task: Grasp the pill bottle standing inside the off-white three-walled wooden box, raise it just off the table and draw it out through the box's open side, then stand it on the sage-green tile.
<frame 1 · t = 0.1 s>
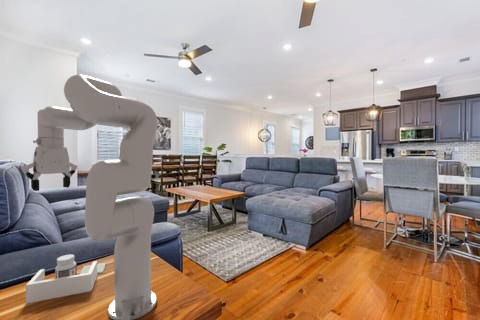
hand: (51, 188, 86), 31 cm above the table, tool pointing down, fingers open, 9 cm apart
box: (65, 288, 75), on the table
tile: (93, 270, 87), on the table
pill bottle: (66, 287, 76), on the table
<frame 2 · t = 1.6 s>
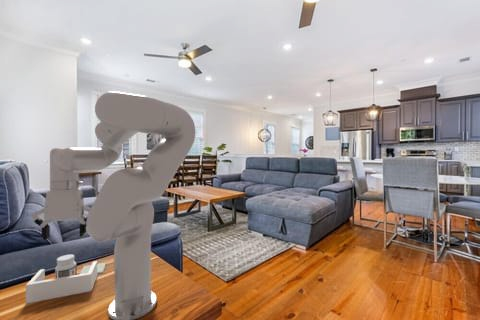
hand: (64, 236, 76), 17 cm above the table, tool pointing down, fingers open, 9 cm apart
nothing on the table moved.
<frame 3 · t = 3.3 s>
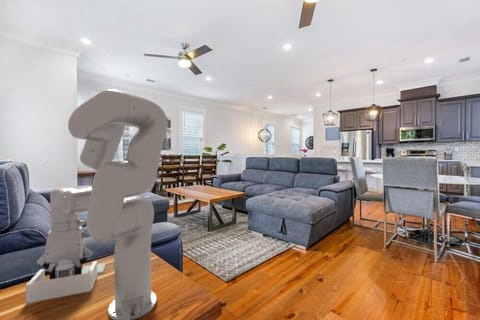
hand: (66, 279, 76), 3 cm above the table, tool pointing down, fingers closed on pill bottle, 5 cm apart
pill bottle: (66, 287, 76), on the table, touching gripper
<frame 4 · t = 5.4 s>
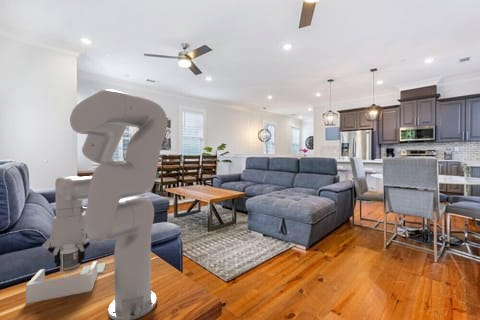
hand: (70, 262, 80), 6 cm above the table, tool pointing down, fingers closed on pill bottle, 5 cm apart
pill bottle: (70, 270, 80), point 3 cm above the table, touching gripper
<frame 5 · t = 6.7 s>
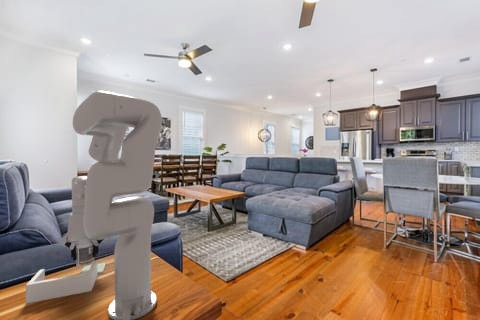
hand: (85, 256, 86), 6 cm above the table, tool pointing down, fingers closed on pill bottle, 5 cm apart
pill bottle: (85, 264, 86), point 3 cm above the table, touching gripper
when the fingers open (5 cm above the table, at t = 7.7 s): pill bottle drops 1 cm, resting on tile.
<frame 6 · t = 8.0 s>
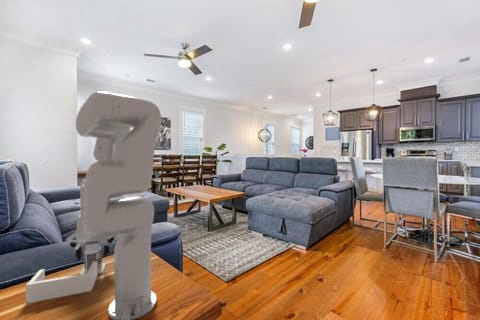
hand: (93, 256, 87), 5 cm above the table, tool pointing down, fingers open, 8 cm apart
pill bottle: (93, 269, 87), resting on tile
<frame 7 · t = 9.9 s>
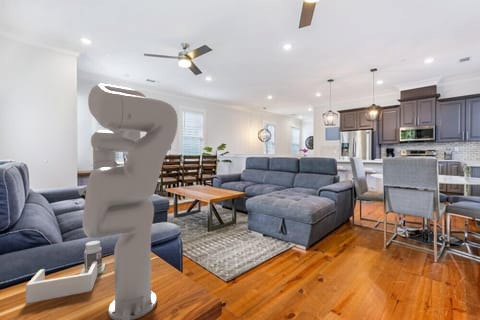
hand: (105, 210, 88), 23 cm above the table, tool pointing down, fingers open, 9 cm apart
nothing on the table moved.
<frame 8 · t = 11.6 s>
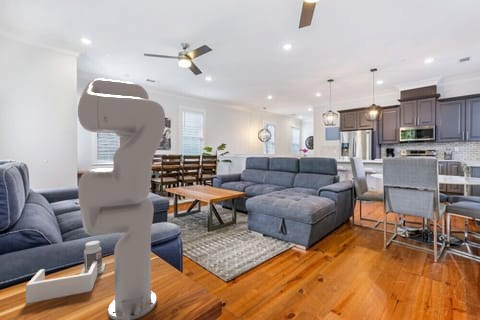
hand: (130, 193, 93), 28 cm above the table, tool pointing down, fingers open, 9 cm apart
nothing on the table moved.
at the end: pill bottle inside the target area on the tile (0.2 cm from its centre), point 0.4 cm above the tile's base; pill bottle tilted 0°; the gripper is holding nothing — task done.
